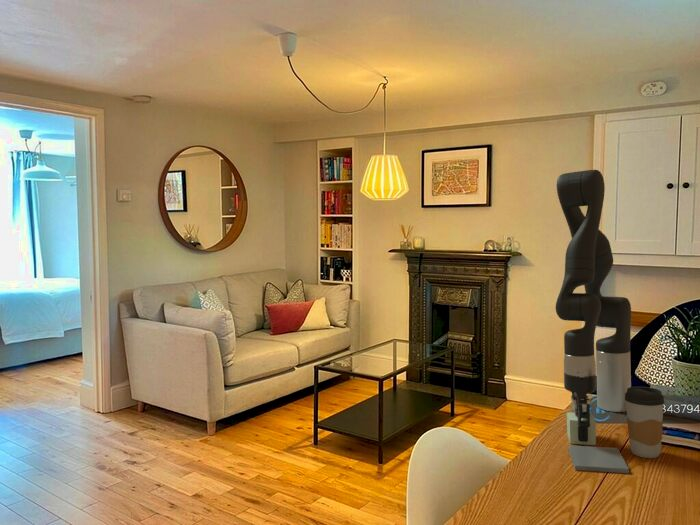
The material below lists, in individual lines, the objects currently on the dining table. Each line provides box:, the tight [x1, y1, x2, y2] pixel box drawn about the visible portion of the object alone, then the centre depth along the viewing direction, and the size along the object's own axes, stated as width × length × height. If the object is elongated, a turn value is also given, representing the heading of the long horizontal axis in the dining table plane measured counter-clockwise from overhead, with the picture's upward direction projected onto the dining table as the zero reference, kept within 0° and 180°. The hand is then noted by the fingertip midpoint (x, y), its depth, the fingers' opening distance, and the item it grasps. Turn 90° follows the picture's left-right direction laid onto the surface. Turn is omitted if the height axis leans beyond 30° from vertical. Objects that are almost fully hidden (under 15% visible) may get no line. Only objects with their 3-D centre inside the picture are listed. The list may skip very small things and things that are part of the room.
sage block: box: [566, 412, 597, 446], centre depth 140 cm, size 6×6×6 cm
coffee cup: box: [625, 386, 665, 459], centre depth 130 cm, size 8×8×15 cm
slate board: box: [568, 445, 630, 474], centre depth 127 cm, size 12×11×1 cm
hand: (581, 436), depth 140 cm, fingers closed on sage block, 6 cm apart
